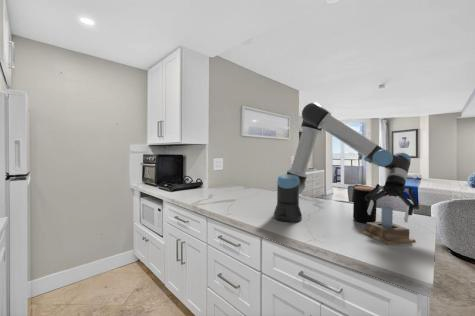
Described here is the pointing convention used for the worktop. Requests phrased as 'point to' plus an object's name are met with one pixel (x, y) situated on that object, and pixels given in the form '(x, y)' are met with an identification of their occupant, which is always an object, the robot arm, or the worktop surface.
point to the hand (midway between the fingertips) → (386, 216)
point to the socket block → (388, 233)
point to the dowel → (387, 217)
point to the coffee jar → (363, 205)
